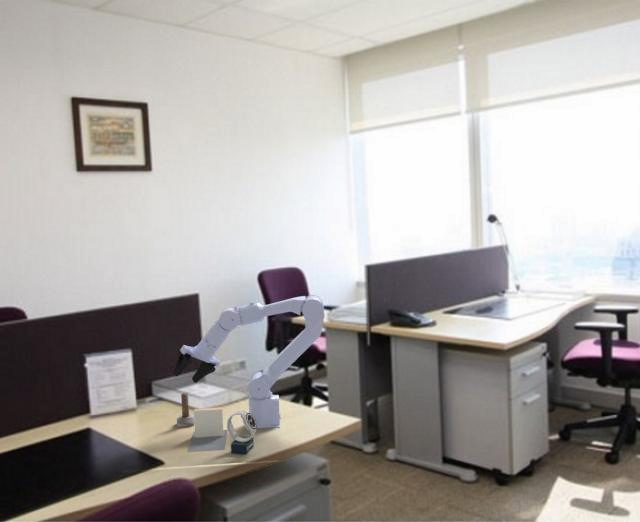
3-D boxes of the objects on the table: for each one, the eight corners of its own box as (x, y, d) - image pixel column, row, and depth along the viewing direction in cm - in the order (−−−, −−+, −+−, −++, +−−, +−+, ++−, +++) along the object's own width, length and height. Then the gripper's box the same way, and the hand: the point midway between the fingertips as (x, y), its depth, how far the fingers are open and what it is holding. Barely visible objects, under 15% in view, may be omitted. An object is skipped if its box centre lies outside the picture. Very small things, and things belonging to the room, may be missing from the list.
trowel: (194, 423, 189) (193, 392, 188) (193, 427, 186) (192, 395, 185) (178, 424, 189) (176, 393, 188) (177, 428, 186) (175, 396, 185)
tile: (223, 433, 178) (222, 407, 178) (223, 435, 177) (222, 408, 176) (195, 435, 178) (194, 408, 177) (195, 437, 176) (193, 410, 175)
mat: (227, 431, 182) (227, 429, 182) (224, 451, 167) (224, 449, 167) (193, 433, 181) (193, 431, 181) (187, 453, 166) (187, 451, 166)
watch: (253, 456, 163) (251, 416, 162) (225, 454, 165) (223, 414, 164) (260, 448, 168) (259, 409, 167) (233, 446, 170) (231, 408, 169)
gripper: (222, 342, 192) (196, 376, 193) (188, 327, 182) (161, 363, 183) (232, 355, 187) (205, 389, 188) (197, 340, 177) (169, 377, 178)
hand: (184, 377), depth 185 cm, fingers open, 7 cm apart
